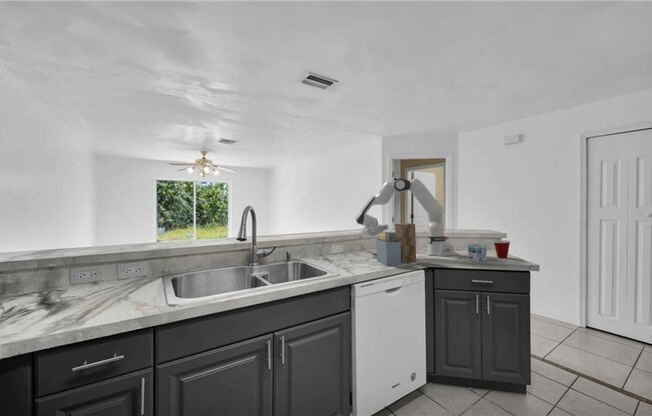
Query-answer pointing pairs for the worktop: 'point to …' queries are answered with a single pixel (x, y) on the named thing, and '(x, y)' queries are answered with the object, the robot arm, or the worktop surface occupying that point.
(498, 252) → the plastic cup
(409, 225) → the walnut post
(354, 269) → the worktop surface
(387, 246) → the slate ledge
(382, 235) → the ochre bar
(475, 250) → the light bulb box
